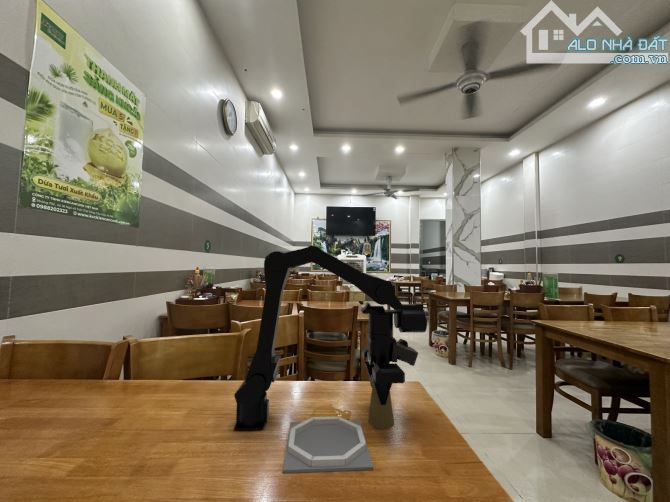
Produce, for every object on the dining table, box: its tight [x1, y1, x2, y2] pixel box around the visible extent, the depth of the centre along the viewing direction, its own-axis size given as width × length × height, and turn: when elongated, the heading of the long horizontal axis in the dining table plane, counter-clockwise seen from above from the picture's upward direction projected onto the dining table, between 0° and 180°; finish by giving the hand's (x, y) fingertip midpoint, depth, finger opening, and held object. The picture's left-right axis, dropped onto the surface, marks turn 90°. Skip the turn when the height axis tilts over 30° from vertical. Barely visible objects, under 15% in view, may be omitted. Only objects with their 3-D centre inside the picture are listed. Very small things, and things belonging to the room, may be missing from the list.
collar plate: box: [282, 416, 374, 474], centre depth 60 cm, size 16×16×2 cm
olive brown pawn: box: [367, 376, 395, 430], centre depth 69 cm, size 6×6×11 cm
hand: (380, 399), depth 69 cm, fingers closed on olive brown pawn, 5 cm apart
